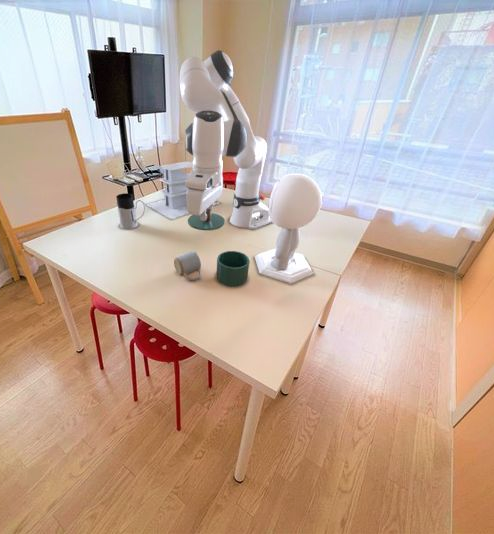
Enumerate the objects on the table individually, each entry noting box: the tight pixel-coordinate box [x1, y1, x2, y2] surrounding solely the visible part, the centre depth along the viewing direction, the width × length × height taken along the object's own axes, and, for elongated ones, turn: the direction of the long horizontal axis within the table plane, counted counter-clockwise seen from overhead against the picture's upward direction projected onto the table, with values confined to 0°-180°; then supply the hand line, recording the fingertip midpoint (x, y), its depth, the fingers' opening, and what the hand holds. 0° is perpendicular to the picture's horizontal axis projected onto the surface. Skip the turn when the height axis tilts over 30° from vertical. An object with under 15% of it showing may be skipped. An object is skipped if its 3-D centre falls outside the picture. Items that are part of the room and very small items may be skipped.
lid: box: [187, 209, 226, 231], centre depth 88 cm, size 12×12×5 cm
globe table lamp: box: [254, 172, 323, 285], centre depth 96 cm, size 20×23×35 cm
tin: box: [215, 250, 251, 288], centre depth 98 cm, size 11×11×8 cm
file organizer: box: [146, 161, 220, 220], centre depth 152 cm, size 26×35×22 cm
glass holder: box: [115, 192, 146, 230], centre depth 131 cm, size 9×14×15 cm, turn 74°
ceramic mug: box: [173, 250, 202, 282], centre depth 100 cm, size 11×8×8 cm
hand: (206, 217), depth 88 cm, fingers closed on lid, 2 cm apart
